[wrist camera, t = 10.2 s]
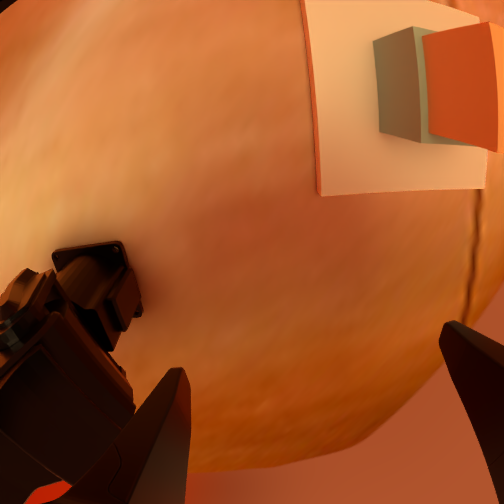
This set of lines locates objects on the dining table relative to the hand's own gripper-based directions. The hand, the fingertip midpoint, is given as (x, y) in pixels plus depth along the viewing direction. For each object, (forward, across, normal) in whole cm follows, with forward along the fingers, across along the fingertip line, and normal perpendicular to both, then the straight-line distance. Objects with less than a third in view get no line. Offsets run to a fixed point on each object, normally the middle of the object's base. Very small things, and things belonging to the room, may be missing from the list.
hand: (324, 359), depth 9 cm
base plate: (+13, -10, -8) cm, 18 cm away
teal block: (+12, -10, -8) cm, 17 cm away
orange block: (+6, -10, -8) cm, 15 cm away
